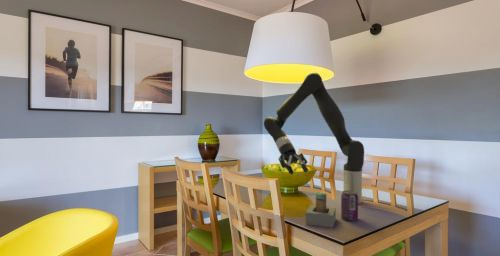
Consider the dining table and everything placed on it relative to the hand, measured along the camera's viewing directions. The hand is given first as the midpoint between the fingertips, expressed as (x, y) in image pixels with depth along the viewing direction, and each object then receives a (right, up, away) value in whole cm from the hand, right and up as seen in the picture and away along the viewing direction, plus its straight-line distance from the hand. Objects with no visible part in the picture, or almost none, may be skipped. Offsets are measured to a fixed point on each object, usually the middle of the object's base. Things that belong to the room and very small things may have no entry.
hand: (299, 172), depth 135 cm
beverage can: (+20, -19, -10) cm, 30 cm away
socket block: (+7, -19, -13) cm, 24 cm away
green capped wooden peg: (+7, -19, -13) cm, 24 cm away
